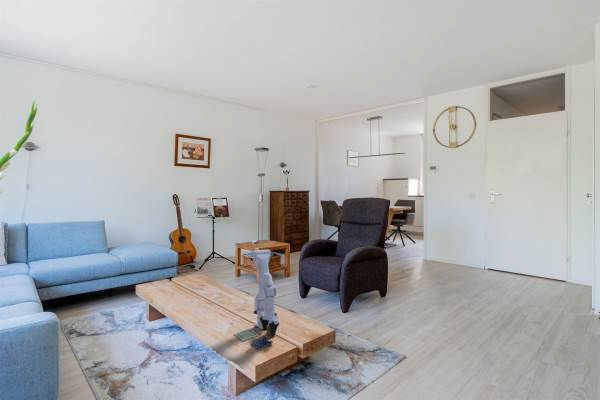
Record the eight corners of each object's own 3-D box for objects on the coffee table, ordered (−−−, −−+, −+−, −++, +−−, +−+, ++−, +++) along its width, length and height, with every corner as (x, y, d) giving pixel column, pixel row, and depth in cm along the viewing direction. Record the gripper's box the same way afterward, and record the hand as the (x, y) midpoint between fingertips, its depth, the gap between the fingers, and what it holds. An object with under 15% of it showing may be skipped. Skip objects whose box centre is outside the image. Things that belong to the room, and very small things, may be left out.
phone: (262, 307, 215) (277, 313, 205) (262, 309, 215) (277, 315, 205) (252, 311, 210) (268, 317, 199) (252, 312, 210) (268, 319, 199)
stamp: (271, 334, 179) (271, 323, 179) (274, 336, 176) (274, 325, 176) (263, 336, 176) (263, 325, 176) (267, 339, 173) (267, 328, 173)
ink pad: (264, 339, 172) (264, 337, 172) (271, 344, 167) (271, 342, 167) (251, 344, 168) (251, 341, 167) (258, 349, 162) (258, 347, 162)
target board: (250, 329, 185) (250, 328, 185) (259, 335, 177) (259, 334, 177) (234, 334, 178) (234, 333, 178) (242, 341, 171) (242, 340, 171)
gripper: (255, 306, 179) (256, 330, 179) (270, 314, 167) (270, 340, 168) (266, 303, 183) (266, 326, 184) (281, 310, 172) (281, 336, 172)
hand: (269, 332), depth 176 cm, fingers open, 7 cm apart
